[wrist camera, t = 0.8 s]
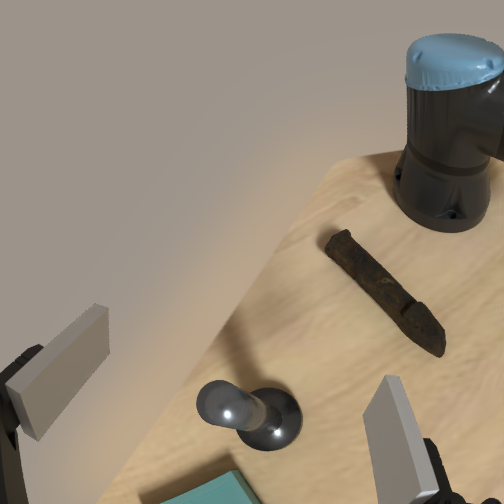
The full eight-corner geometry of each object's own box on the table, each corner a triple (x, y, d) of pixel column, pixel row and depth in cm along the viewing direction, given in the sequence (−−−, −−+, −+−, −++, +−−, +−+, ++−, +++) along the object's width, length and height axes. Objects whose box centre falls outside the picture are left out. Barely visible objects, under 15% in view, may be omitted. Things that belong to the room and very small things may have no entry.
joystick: (279, 378, 33) (235, 335, 22) (315, 427, 29) (290, 416, 18) (228, 411, 33) (158, 386, 21) (260, 462, 28) (200, 469, 17)
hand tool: (325, 258, 40) (320, 237, 37) (349, 242, 41) (347, 219, 37) (420, 374, 29) (429, 364, 25) (446, 351, 29) (458, 338, 25)
